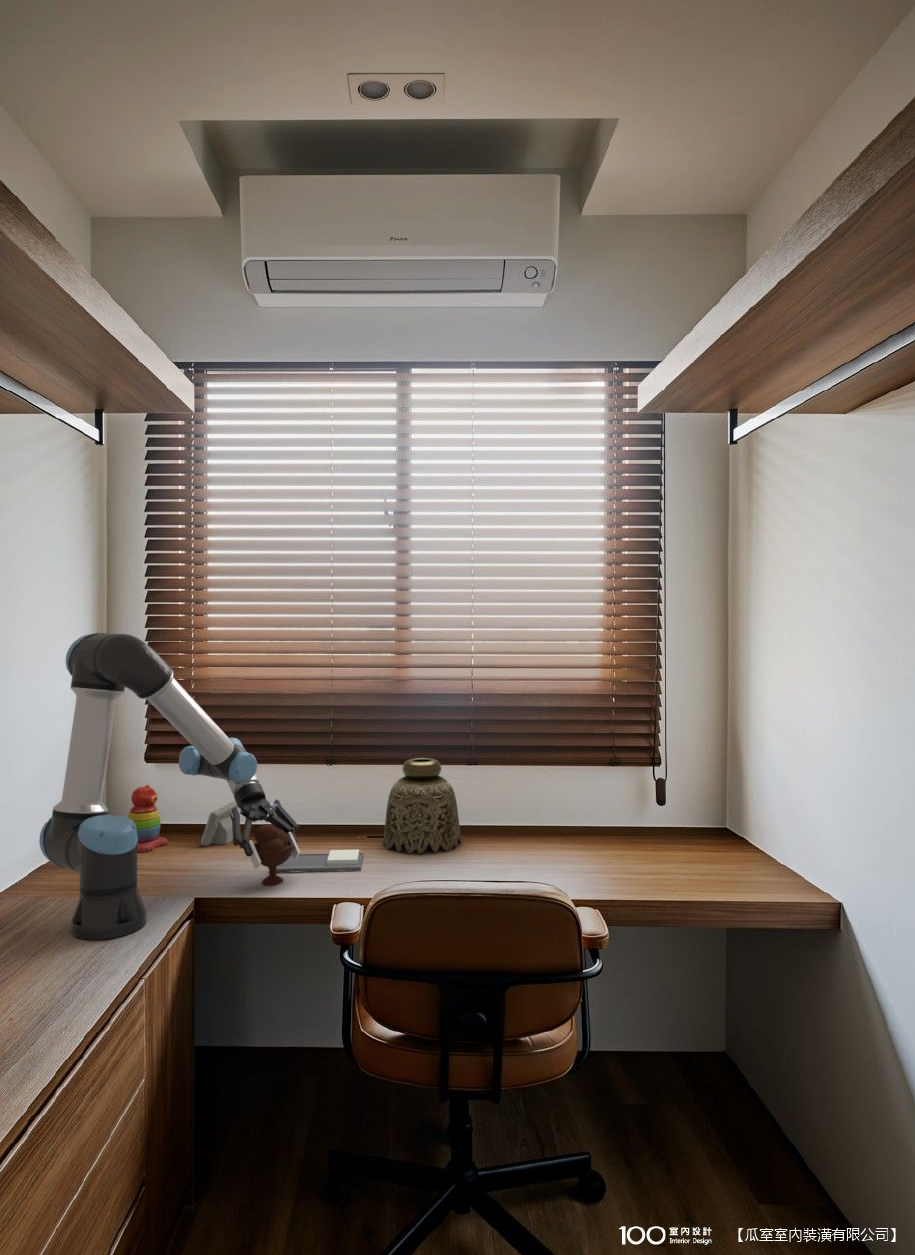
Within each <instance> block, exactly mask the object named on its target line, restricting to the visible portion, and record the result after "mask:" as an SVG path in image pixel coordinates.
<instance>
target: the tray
mask: <svg viewBox="0 0 915 1255" xmlns="http://www.w3.org/2000/svg"><path fill="white" fill-rule="evenodd" d="M329 853H330V852H315V853H314V852H312V853H310V852H308V853H307V852H306V853H300V855H299V856H298V858H297V859H294V857H293V855H292V853H291V855H290V857H289V858H288V859H287V860H286V861H285V862H284V863H283V864H281V865H279V866H277V867H276V872H286V873H293V872H292V871H301V872H300V873H304V872H303V871H325V872H339V871H338V870H361V871H362V866H363V865H362V864H363V859H364V851H359V859H358V864H357V866H327V859H328V856H329ZM361 865H362V866H361ZM290 871H291V872H290Z"/></svg>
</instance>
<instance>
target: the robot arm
mask: <svg viewBox="0 0 915 1255" xmlns="http://www.w3.org/2000/svg"><path fill="white" fill-rule="evenodd" d="M65 667H66V670H67V671H68V673H69V674H70V676H71V682H70V683H71V684H70V689H71V691H72V692H73V693H74V694H75V697H76V698H75V706H74V712H73V713H74V714H73V720H72V727H71V734H70V740H69V747H68V754H67V761H66V768H65V774H64V782H63V788H62V795H61V800H60V801H59V802H57V804H55V805H54V806H53V807H52V814H51V817H50V818H48V820H47V822H45V823H44V824H43V826H42V827H41V830H40V834H39V841H38V842H39V847H40V850H41V853H42V854H43V856H44V857H45V858H46V859H47V860H48V861H49V862H52V863H53V864H54V865H56V866H57V867H59V868H64V869H68V870H71V871H73V872H76V873H79V897H78V900H77V903H76V907H75V909H74V913H73V917H72V919H71V923H70V925H71V928H70V929H71V930H70V932H71V934H72V936H74V938H78V939H81V940H87V941H89V940H91V941H97V940H111V939H116V938H119V937H123V936H127V935H129V934H132V933H136V931H138V930H141V929H142V928H143V927H145V925H146V923H147V910H146V907H145V905H144V902H143V900H142V897H141V893H140V891H139V887H138V852H137V842H138V836H137V830H136V825H135V823H134V822H133V821H132V820H131V819H129V818H128V817H126V816H123V815H113V814H108V813H109V809H108V807H107V806H106V805H105V803H104V802H103V798H104V790H105V783H106V776H107V768H108V761H109V755H110V746H111V741H112V733H113V725H114V720H115V719H114V718H115V717H114V716H115V711H116V704H117V701H118V699H119V698H120V697H121V696H123V695H124V694H125V690H126V689H128V690H129V691H132V693H134V694H135V695H136V696H137V697H138V699H141V700H147V701H148V702H149V703H150V704H151V705H152V706H153V707H154V708H155V709H156V710H157V711H158V712H159V714H160V715H162V716H163V717H164V718H165V719H166V720H167V721H168V722H169V724H171V725H172V726H173V727H174V728H175V729H176V731H177V732H179V734H180V735H181V736H183V737H184V738H185V740H187V742H188V743H189V744H190V745H187V746H185V747H184V748H183V749H181V751H180V753H179V756H178V757H179V759H178V766H179V770H180V771H181V773H183V774H184V775H187V776H204V777H210V778H215V779H221V780H226V782H227V784H228V786H229V789H230V791H231V794H232V796H233V799H234V801H236V803H237V806H238V809H237V808H235V807H234V808H233V809H232V810H231V812H230V814H229V815H230V817H231V819H232V831H233V841H232V844H233V846H236V847H237V846H239V848H240V849H243V852H244V853H245V855H246V857H247V858H250V861H251V863H252V865H253V868H254V869H255V870H256V869H259V867H260V866H261V865H262V864H261V860H260V858H259V855H258V853H257V851H256V848H255V846H254V844H255V843H254V841H253V840H252V839H251V840H249V839H250V834H251V829H252V824H253V823H255V822H258V821H265V822H267V823H270V824H272V825H274V826H275V827H276V828H278V829H281V830H283V831H284V832H285V833H286V834H287V835H288V841H291V842H293V843H294V845H293V850H292V853H291V854H292V855H293V857H294V859H297V858H298V856H299V855H300V854H302V853H301V850H300V848H299V845H298V844H299V840H298V838H297V836H296V832H297V830H298V829H299V827H300V825H299V824H298V823H297V822H296V820H294V818H293V817H292V815H290V814H289V813H288V812H287V811H286V810H285V809H284V807H283V806H282V804H281V802H280V800H279V799H274V801H272V802H271V801H268V800H267V798H266V793H265V791H264V789H263V787H262V784H261V783H260V780H259V777H258V776H257V770H258V761H257V759H256V757H255V755H254V754H253V753H249V752H248V751H247V750H246V749H245V747H244V746H243V743H242V742H241V741H240V739H238V738H235V737H229V736H228V735H226V733H225V732H224V731H223V730H222V729H221V728H220V727H219V726H218V724H216V722H215V721H214V720H213V719H212V718H211V717H210V716H209V715H208V713H207V712H206V711H205V710H204V709H203V708H202V707H201V706H200V705H199V703H198V702H196V700H195V699H193V697H192V696H191V695H190V694H189V693H188V692H187V691H186V689H184V688H183V686H182V685H181V684H180V683H179V682H178V681H177V680H176V679H175V678H174V670H173V669H172V667H170V666H169V664H168V663H167V662H166V661H165V660H164V659H163V658H162V657H161V656H160V655H159V654H158V652H156V651H155V649H153V648H152V647H151V646H150V645H148V643H146V642H144V641H143V640H142V639H140V638H138V637H136V636H134V635H132V634H128V633H104V632H96V633H95V632H94V633H89V634H85V635H83V636H80V637H79V638H77V639H76V640H75V641H73V642H72V643H71V645H70V646H69V648H68V650H67V651H66V656H65ZM240 815H241V816H243V817H245V820H244V821H245V822H244V828H243V832H241V817H240Z"/></svg>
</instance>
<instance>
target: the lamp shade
mask: <svg viewBox="0 0 915 1255" xmlns="http://www.w3.org/2000/svg"><path fill="white" fill-rule="evenodd" d="M402 772H403V774H404V776H403V777H401V778H399V779H398V780H397V781H396V782H395V783H394V784H393V786H392V787H391V790H390V792H389V794H388V795H389V796H388V800H387V806H386V813H385V823H384V833H383V840H382V845H384V846H385V848H386V850H389V849H391V848H392V847H393V846H394V845H395V849H396V851H397V852H399V853H400V852H401V851H402V848H403V846H404V848H405V850H406V851H407V853H408V854H413V853H414V852H415V850H417V853H418V854H420V855H422V854H423V853H424V852H425V850H426V849H428V847H429V845H430V848H431V850H432V851H433V853H434V854H437V853H438V850H439V848H440V847H441V848H442V850H445V851H446V852H451V851H452V849H453V847H455V848H457V847H458V841H460V842H462V836H461V835H462V834H461V828H460V818H459V810H458V804H457V803H458V802H457V799H456V798H457V797H456V794H455V790H454V789H453V787H452V785H451V783H450V782H449V781H448V780H447V779H446V778H445V777H442V776H441V775H440V774H441V772H442V766H441V763H440V762H439V760H437V759H435V758H432V757H431V758H430V757H415V758H410V759H407V760H405V762H404V764H403V766H402ZM458 839H459V840H458Z"/></svg>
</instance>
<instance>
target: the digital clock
mask: <svg viewBox="0 0 915 1255" xmlns="http://www.w3.org/2000/svg"><path fill="white" fill-rule="evenodd" d="M234 807H235V808H237V809H238V808H239V807H238V806H237V803H236V801H235V800H232V801H229V802H228V803H225V804H223V805H221V806H219V807H218V808H216V809H214V810H212V811H210V813H209V816H208V818H207V822H206V824H205V827H204V831H203V834H202V837H201V840H200V843H201V846H203V847H207V846H210V845H222V844H227V845H228V844H229V843H231V842H233V831H232V819H231V817H230V815H229V814H230V812H231V810H232V809H233V808H234Z"/></svg>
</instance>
